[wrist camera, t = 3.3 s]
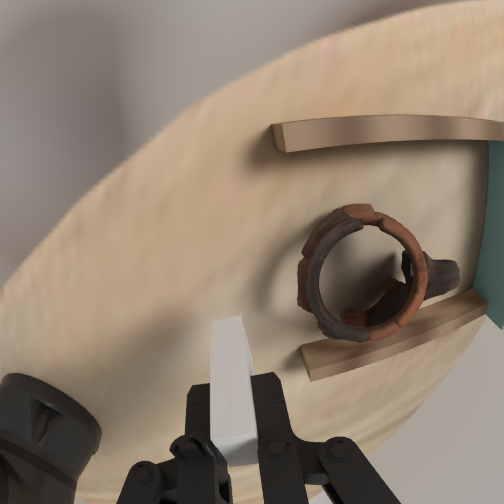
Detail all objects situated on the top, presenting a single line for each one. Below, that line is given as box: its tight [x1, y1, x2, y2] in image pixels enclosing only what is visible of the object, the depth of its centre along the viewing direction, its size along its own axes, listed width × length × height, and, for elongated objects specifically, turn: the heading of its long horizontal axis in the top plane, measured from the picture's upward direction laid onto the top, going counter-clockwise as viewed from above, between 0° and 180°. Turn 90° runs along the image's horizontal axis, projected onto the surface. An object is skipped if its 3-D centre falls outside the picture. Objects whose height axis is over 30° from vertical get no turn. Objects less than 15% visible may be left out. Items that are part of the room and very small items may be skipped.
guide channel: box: [271, 115, 504, 382], centre depth 19 cm, size 20×19×3 cm
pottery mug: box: [297, 204, 460, 344], centre depth 19 cm, size 12×9×8 cm
